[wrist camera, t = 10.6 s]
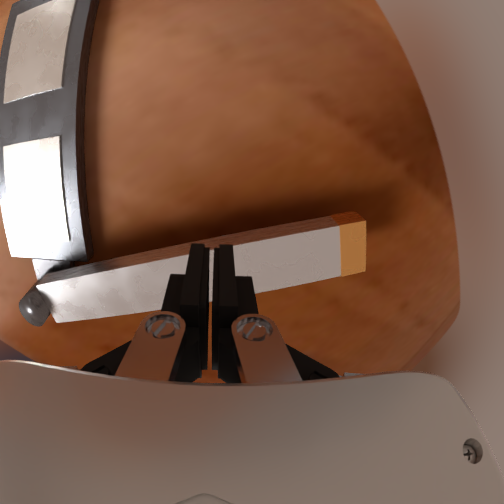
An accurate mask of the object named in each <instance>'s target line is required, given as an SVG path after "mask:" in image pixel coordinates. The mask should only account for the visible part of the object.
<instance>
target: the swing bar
mask: <svg viewBox="0 0 504 504" xmlns="http://www.w3.org/2000/svg"><path fill="white" fill-rule="evenodd" d="M191 243H200V244H205V247H210V264H209V302H210V301H212V289H213V261H214V248H219V244H229V245H233V252H234V264H235V275H236V276H251V277H252V280H253V286H254V291H255V293H260V292H265V291H270V290H275V289H281V288H286V287H291V286H295V285H300V284H305V283H310V282H315V281H319V280H324V279H329V278H333V277H338V276H341V277H342V276H347V275H351V274H355V273H360V272H364V271H365V270H366V220H365V219H364V218H362V217H361V216H360V215H359V214H358V213H356V212H355V211H350V212H344V213H338V214H332V215H330V216H326V217H320V218H315V219H309V220H304V221H298V222H293V223H287V224H282V225H276V226H271V227H266V228H260V229H255V230H250V231H245V232H240V233H234V234H229V235H224V236H219V237H214V238H209V239H204V240H199V241H194V242H189V243H184V244H179V245H175V246H170V247H165V248H160V249H155V250H151V251H146V252H141V253H137V254H132V255H127V256H123V257H118V258H114V259H109V260H105V261H100V262H96V263H91V264H87V265H83V266H78V267H74V268H70V269H65V270H61V271H57V272H52V271H47V272H45V273H44V274H43V275H42V276H41V277H40V278H39V279H38V281H37V282H36V283H35V284H34V285H33V286H32V287H31V289H30V290H29V291H28V292H27V293H26V294H25V296H24V297H23V298H22V299H21V300H20V302H19V309H20V312H21V314H22V315H23V317H24V318H25V319H26V320H27V321H28V322H29V323H31V324H32V325H35V326H42V325H43V324H44V322H45V321H46V319H47V318H48V316H49V315H50V313H51V314H52V316H53V317H54V319H55V321H56V322H57V323H59V322H68V321H77V320H86V319H94V318H102V317H110V316H118V315H125V314H133V313H140V312H147V311H154V310H160V309H161V308H162V304H163V300H164V296H165V292H166V288H167V284H168V281H169V277H170V274H185V272H186V267H187V262H188V257H189V252H190V247H191Z"/></svg>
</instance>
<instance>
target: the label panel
mask: <svg viewBox="0 0 504 504" xmlns="http://www.w3.org/2000/svg"><path fill="white" fill-rule="evenodd" d="M98 4H99V0H20V1H18V2H16V3H14V4H12V8H11V11H10V15H9V18H8V22H7V26H6V30H5V35H4V40H3V45H2V50H1V56H0V204H1V210H2V216H3V221H4V226H5V231H6V236H7V240H8V244H9V249H10V253H11V256H15V257H28V258H32V261H33V265H34V268H35V272H36V276H37V279H39V278H40V277H41V276H42V275H43V274H44V273H45V272H47V271H52V272H57V271H61V270H65V269H70V268H74V267H75V265H74V261H83V262H88V261H89V259H90V258H91V257H92V256H93V254H94V252H93V246H92V239H91V232H90V224H89V216H88V206H87V195H86V182H85V163H84V111H85V92H86V80H87V70H88V61H89V53H90V46H91V40H92V34H93V28H94V23H95V18H96V13H97V8H98Z"/></svg>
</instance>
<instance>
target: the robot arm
mask: <svg viewBox="0 0 504 504" xmlns="http://www.w3.org/2000/svg"><path fill="white" fill-rule="evenodd" d="M209 264H210V247H205V244H200V243H191V247H190V252H189V257H188V262H187V267H186V272H185V274H170V277H169V281H168V284H167V288H166V292H165V296H164V300H163V304H162V308H161V311H160V312H155V313H152V314H149V315H148V316H147V317H145V318H144V319H143V321H142V322H141V324H140V326H139V327H138V329H137V331H136V333H135V335H134V337H133V339H132V340H131V341H129V342H127V343H125V344H124V345H122V346H120V347H118V348H116V349H114V350H112V351H110V352H108V353H107V354H105V355H103V356H101V357H99V358H97V359H95V360H93V361H91V362H89V363H88V364H86V365H85V366H84V367H83V368H82V369H78V368H77V366H53V365H47V364H42V363H36V362H30V361H29V362H28V361H21V360H3V361H0V504H504V477H503V475H502V472H501V470H500V468H499V465H498V463H497V460H496V458H495V456H494V453H493V451H492V449H491V447H490V445H489V443H488V441H487V438H486V437H485V434H484V432H483V430H482V429H481V427H480V425H479V424H478V421H477V420H476V418H475V416H474V414H473V413H472V411H471V409H470V408H469V406H468V405H467V403H466V402H465V400H464V399H463V398H462V396H461V395H460V393H459V392H458V391H457V389H456V388H455V387H454V386H453V385H452V384H451V383H450V382H449V381H447V380H446V379H444V378H442V377H441V376H438V375H435V374H431V373H426V372H420V371H387V372H380V373H371V374H354V373H344V374H343V376H339V375H338V374H337V373H336V372H334V371H333V370H332V369H330V368H328V367H326V366H324V365H323V364H321V363H319V362H317V361H315V360H313V359H312V358H310V357H308V356H306V355H304V354H303V353H301V352H299V351H297V350H296V349H294V348H292V347H290V346H289V345H287V344H285V342H284V340H283V338H282V336H281V334H280V332H279V330H278V328H277V326H276V324H275V323H274V321H272V320H271V319H270V318H268V317H266V316H263V315H259V314H258V308H257V302H256V297H255V291H254V286H253V280H252V277H251V276H236V275H235V264H234V252H233V245H229V244H219V248H214V261H213V289H212V370H218V378H221V379H222V380H223V381H225V382H226V383H192V382H193V381H195V380H196V379H197V378H201V376H202V370H207V361H208V321H209Z"/></svg>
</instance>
